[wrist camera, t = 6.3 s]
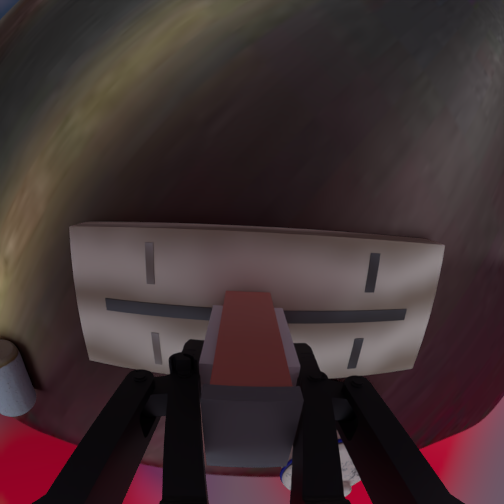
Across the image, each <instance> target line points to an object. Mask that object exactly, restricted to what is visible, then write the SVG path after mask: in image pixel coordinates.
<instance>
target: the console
mask: <svg viewBox="0 0 504 504" xmlns="http://www.w3.org/2000/svg"><path fill="white" fill-rule="evenodd" d="M69 231H70V247H71V258H72V268H73V277H74V284H75V291H76V298H77V304H78V310H79V315H80V320H81V325H82V330H83V334H84V339H85V343H86V347H87V351H88V355H89V359H90V360H92V361H96V362H101V363H105V364H110V365H115V366H120V367H126V368H131V369H137V370H138V369H143V370H147V371H150V372H157V373H164V374H170V369H169V361H168V359H169V357H170V356H171V355H173V354H175V353H178V352H182V350H183V347H184V344H185V343H186V342H187V341H188V340H189V339H195V340H205V336H206V332H207V328H208V324H209V320H210V316H211V312H212V308H213V305H221V306H223V304H224V298H225V293H226V291H244V292H269V293H270V294H271V298H272V302H273V306H274V308H283V311H284V314H285V318H286V321H287V324H288V327H289V331H290V334H291V337H292V340H293V343H306V344H308V345H309V346H310V347H311V349H312V351H313V354H314V356H315V358H316V361H317V364H318V366H319V369H320V371H321V372H324V373H325V374H326V375H327V376H328V379H331V378H343V377H349V376H352V375H358V376H363V375H372V374H379V373H387V372H393V371H400V370H405V369H411V368H413V365H414V362H415V360H416V357H417V354H418V351H419V348H420V346H421V343H422V340H423V336H424V333H425V330H426V327H427V323H428V320H429V316H430V313H431V309H432V305H433V301H434V297H435V293H436V289H437V285H438V280H439V275H440V270H441V265H442V260H443V254H444V248H445V245H443V244H440V243H437V242H434V241H431V240H428V239H424V238H413V237H402V236H391V235H379V234H367V233H354V232H341V231H327V230H312V229H296V228H279V227H261V226H240V225H218V224H191V223H158V222H103V221H88V222H84V223H80V224H76V225H72V226H69Z"/></svg>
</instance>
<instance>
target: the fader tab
mask: <svg viewBox="0 0 504 504" xmlns="http://www.w3.org/2000/svg"><path fill="white" fill-rule="evenodd" d="M303 402H304V399H303V396H302V392H301V388H300V386H293V385H292V381H291V377H290V373H289V368H288V364H287V360H286V356H285V352H284V347H283V343H282V339H281V335H280V331H279V327H278V322H277V318H276V314H275V310H274V306H273V302H272V298H271V294H270V293H269V292H244V291H226V293H225V298H224V304H223V309H222V315H221V321H220V327H219V332H218V338H217V344H216V350H215V356H214V362H213V368H212V374H211V380H210V384H203V388H202V393H201V411H202V423H203V433H204V443H205V452H206V461H207V465H211V466H226V467H284V466H287V463H288V460H289V456H290V453H291V449H292V445H293V442H294V438H295V434H296V430H297V427H298V423H299V419H300V415H301V410H302V406H303Z"/></svg>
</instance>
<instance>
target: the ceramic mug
mask: <svg viewBox="0 0 504 504" xmlns="http://www.w3.org/2000/svg"><path fill="white" fill-rule="evenodd" d="M35 401H36V393H35V390H34V388H33V386H32V383H31V381H30V378H29V376H28V373H27V371H26V368H25V365H24V362H23V359H22V357H21V354H20V352H19V350H18V348H17V347H16V346H15V345H14V344H13V343H12V342H10V341H8V340H3V339H0V413H1V414H3V415H5V416H10V417H15V416H20V415H23V414H25V413H26V412H28V411H29V410H30V409H31V408H32V407H33V405H34V404H35Z"/></svg>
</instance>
